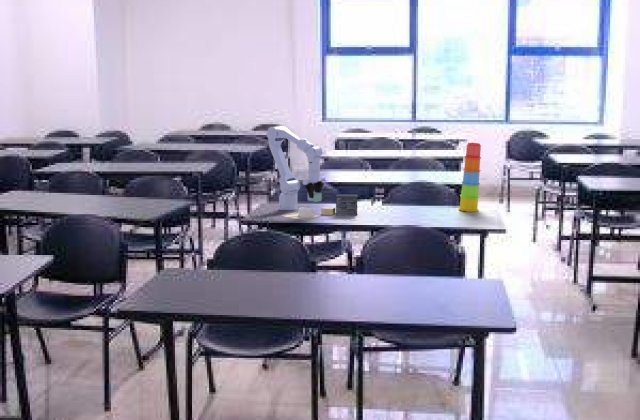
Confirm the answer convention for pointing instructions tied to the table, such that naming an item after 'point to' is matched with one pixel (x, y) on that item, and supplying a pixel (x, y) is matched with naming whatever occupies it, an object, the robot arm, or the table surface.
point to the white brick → (305, 212)
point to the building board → (296, 216)
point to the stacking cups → (471, 179)
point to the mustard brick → (328, 211)
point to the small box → (346, 204)
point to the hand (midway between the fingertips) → (314, 197)
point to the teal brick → (316, 197)
